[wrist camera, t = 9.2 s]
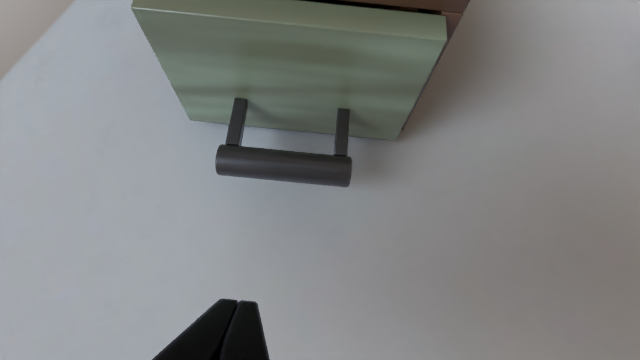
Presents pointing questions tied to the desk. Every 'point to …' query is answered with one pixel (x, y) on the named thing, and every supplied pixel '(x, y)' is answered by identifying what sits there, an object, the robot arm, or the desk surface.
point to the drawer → (293, 73)
